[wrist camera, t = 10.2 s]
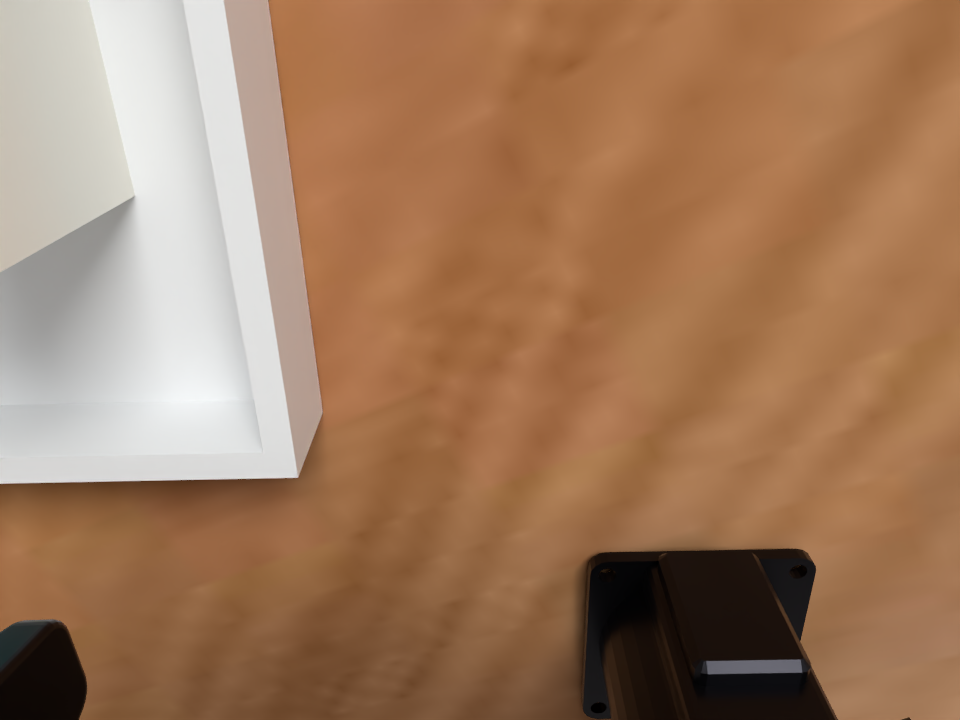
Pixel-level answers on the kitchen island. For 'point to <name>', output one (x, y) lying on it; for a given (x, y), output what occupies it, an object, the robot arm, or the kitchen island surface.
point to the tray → (170, 275)
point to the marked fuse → (54, 126)
